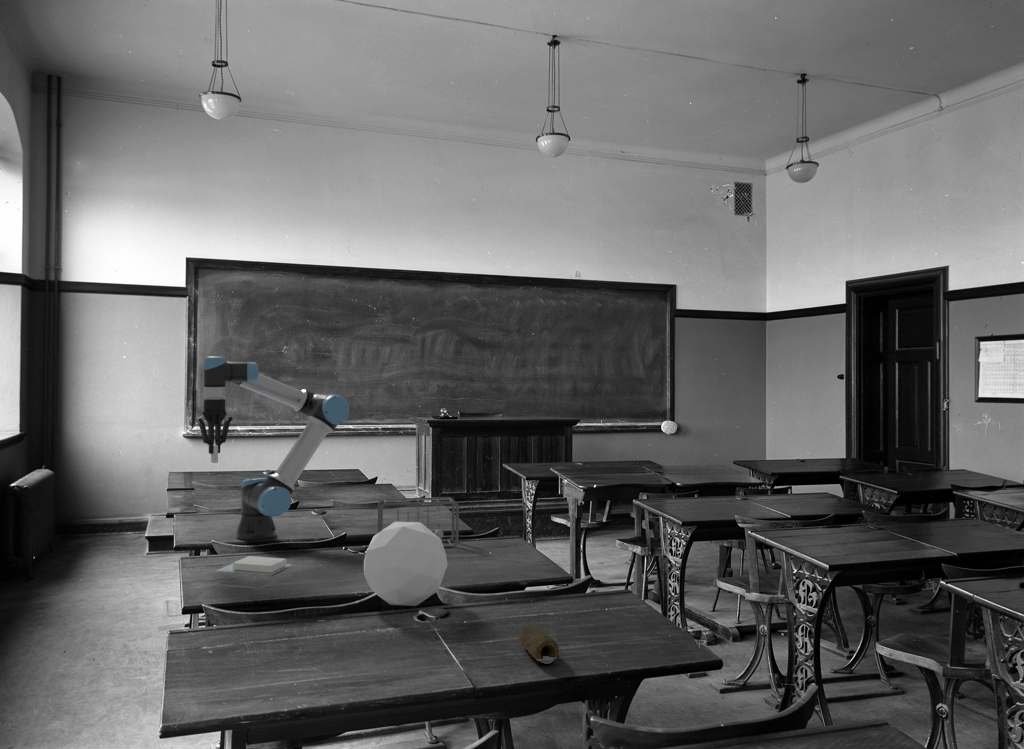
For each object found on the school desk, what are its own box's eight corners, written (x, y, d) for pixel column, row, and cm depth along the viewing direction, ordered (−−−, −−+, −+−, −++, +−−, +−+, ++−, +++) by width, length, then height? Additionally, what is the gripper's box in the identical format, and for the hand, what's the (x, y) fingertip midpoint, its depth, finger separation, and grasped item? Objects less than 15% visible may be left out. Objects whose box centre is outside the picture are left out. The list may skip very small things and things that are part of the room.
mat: (215, 571, 264) (215, 570, 264) (238, 561, 277) (238, 560, 277) (270, 576, 259) (270, 575, 259) (291, 566, 273) (291, 564, 273)
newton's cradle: (454, 541, 315) (454, 496, 315) (458, 547, 305) (459, 501, 304) (377, 544, 308) (377, 498, 308) (379, 550, 298) (379, 503, 297)
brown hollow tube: (564, 666, 187) (564, 638, 187) (536, 669, 185) (537, 641, 185) (539, 644, 201) (540, 618, 201) (513, 647, 199) (514, 621, 199)
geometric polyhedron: (398, 624, 240) (410, 547, 255) (459, 610, 226) (468, 529, 241) (338, 599, 226) (354, 518, 241) (399, 582, 212) (412, 498, 227)
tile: (232, 562, 264) (271, 565, 261) (249, 555, 274) (286, 558, 271) (232, 570, 264) (271, 573, 261) (249, 563, 274) (286, 566, 271)
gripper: (227, 397, 300) (227, 460, 301) (192, 398, 292) (192, 462, 292) (236, 398, 295) (235, 462, 295) (200, 399, 286) (200, 465, 287)
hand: (214, 462), depth 294 cm, fingers closed
